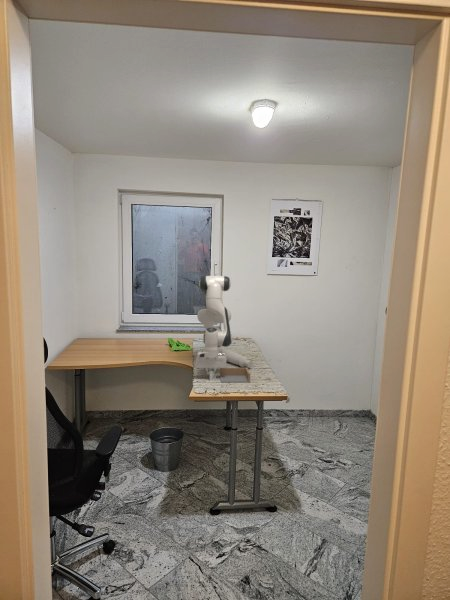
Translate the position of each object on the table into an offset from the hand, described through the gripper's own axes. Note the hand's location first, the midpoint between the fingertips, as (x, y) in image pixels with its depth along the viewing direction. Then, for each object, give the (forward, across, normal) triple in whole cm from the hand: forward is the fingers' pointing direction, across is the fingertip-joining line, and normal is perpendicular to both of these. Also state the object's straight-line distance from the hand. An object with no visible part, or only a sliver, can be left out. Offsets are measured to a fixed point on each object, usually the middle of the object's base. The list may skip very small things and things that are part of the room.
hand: (210, 374), depth 232 cm
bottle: (+2, -20, -30) cm, 36 cm away
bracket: (+2, -1, 0) cm, 3 cm away
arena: (+2, -15, +2) cm, 16 cm away
